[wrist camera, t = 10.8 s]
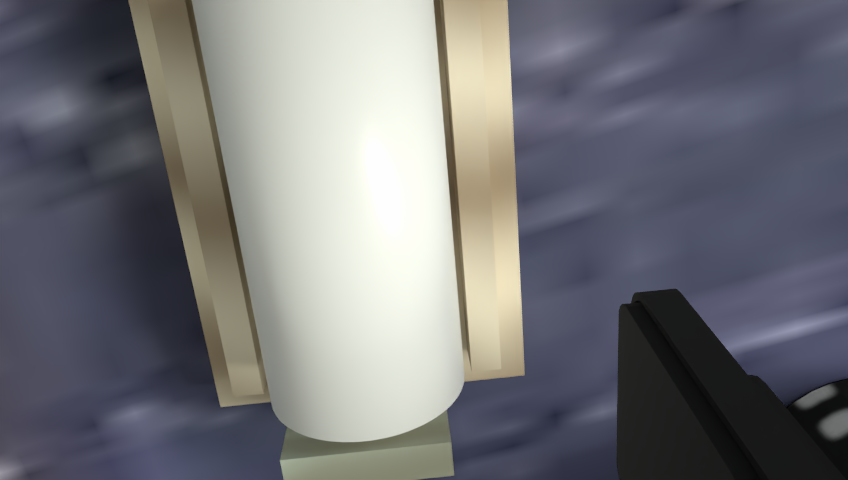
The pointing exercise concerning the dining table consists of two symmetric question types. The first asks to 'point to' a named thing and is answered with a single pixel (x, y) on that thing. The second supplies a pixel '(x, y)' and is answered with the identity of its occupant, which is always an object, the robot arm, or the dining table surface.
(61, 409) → the dining table surface
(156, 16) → the holder
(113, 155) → the dining table surface
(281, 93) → the roll
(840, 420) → the spotted tube
